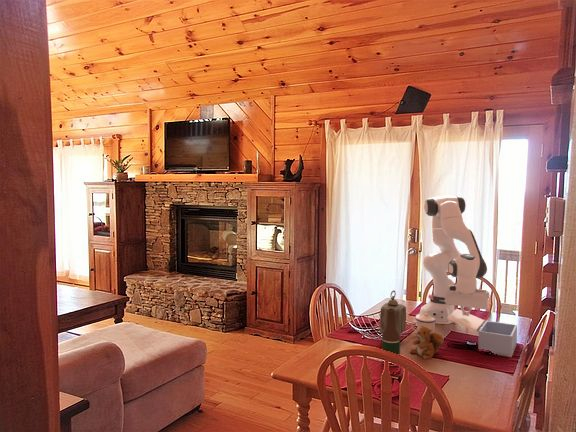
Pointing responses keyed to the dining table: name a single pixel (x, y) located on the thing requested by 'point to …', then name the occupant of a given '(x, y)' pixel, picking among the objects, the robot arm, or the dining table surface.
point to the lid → (466, 320)
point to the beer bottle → (391, 335)
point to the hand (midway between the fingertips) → (465, 315)
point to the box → (498, 338)
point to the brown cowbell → (399, 315)
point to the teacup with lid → (425, 322)
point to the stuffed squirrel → (427, 343)
